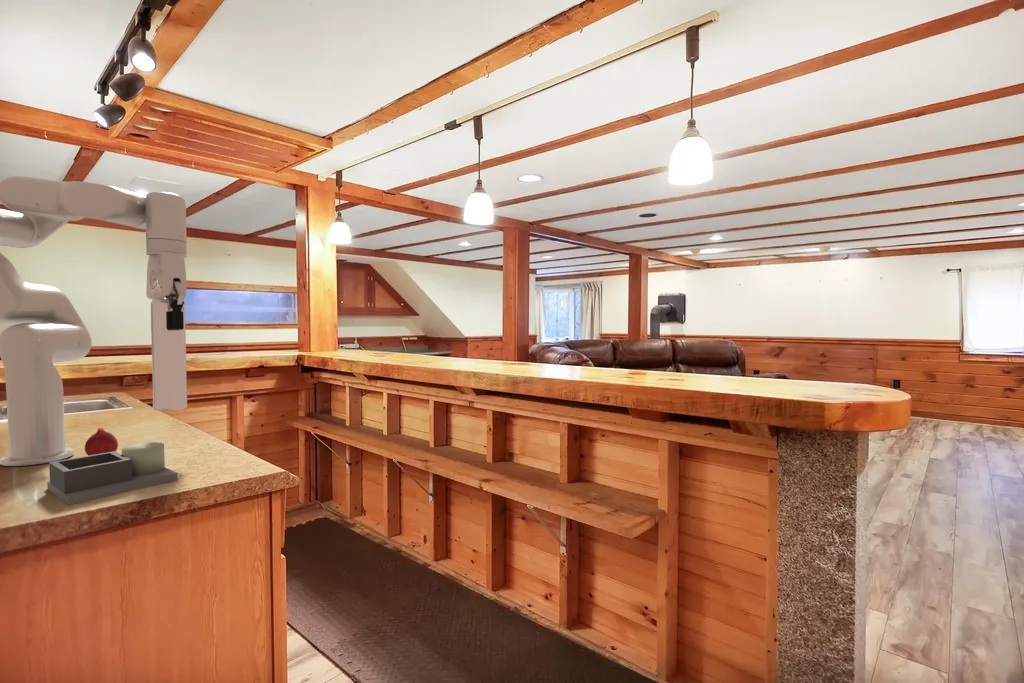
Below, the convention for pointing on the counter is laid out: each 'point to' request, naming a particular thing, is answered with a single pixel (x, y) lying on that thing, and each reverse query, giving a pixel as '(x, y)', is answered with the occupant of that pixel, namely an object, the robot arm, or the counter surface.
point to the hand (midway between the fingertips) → (168, 328)
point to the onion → (101, 443)
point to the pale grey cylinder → (167, 360)
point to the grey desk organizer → (109, 473)
